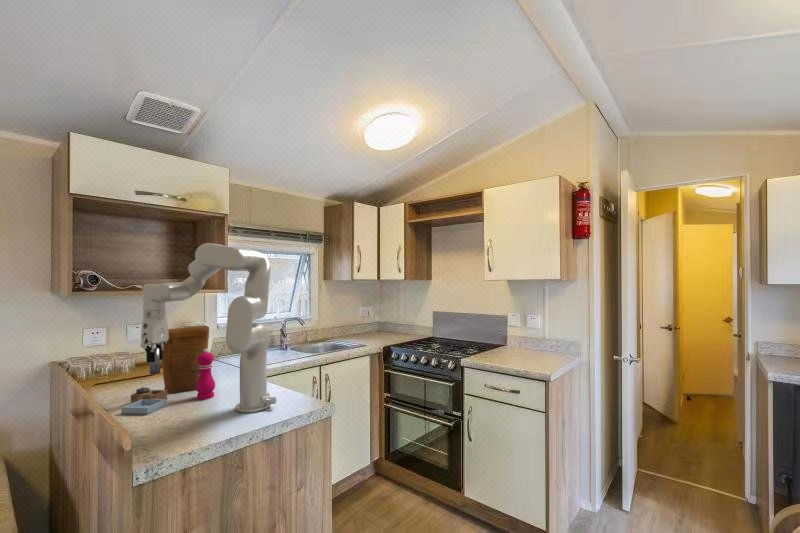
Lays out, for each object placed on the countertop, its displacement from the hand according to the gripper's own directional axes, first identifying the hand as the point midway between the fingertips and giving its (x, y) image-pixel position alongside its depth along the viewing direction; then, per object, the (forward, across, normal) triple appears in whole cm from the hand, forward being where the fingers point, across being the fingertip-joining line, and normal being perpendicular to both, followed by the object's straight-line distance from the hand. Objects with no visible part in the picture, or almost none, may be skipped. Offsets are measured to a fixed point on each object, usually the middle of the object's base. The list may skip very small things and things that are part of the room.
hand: (154, 360), depth 155 cm
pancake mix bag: (+17, +17, -1) cm, 24 cm away
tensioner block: (+17, 0, +3) cm, 17 cm away
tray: (+17, -8, -2) cm, 19 cm away
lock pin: (+5, 0, 0) cm, 5 cm away
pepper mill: (+17, +8, -16) cm, 25 cm away
